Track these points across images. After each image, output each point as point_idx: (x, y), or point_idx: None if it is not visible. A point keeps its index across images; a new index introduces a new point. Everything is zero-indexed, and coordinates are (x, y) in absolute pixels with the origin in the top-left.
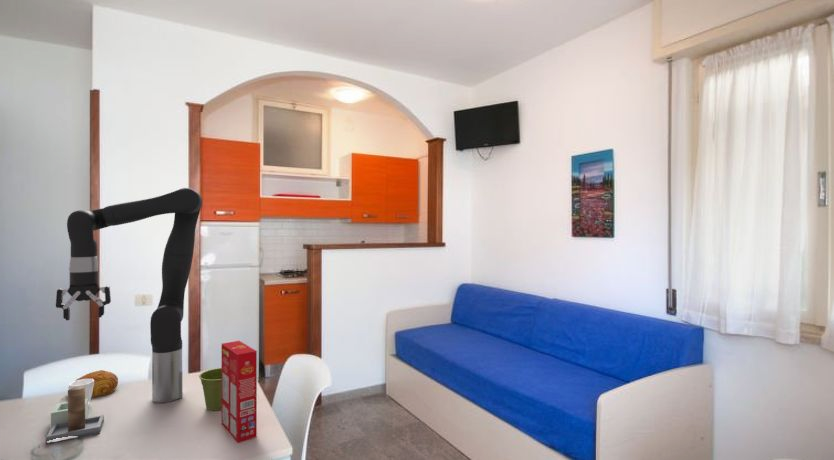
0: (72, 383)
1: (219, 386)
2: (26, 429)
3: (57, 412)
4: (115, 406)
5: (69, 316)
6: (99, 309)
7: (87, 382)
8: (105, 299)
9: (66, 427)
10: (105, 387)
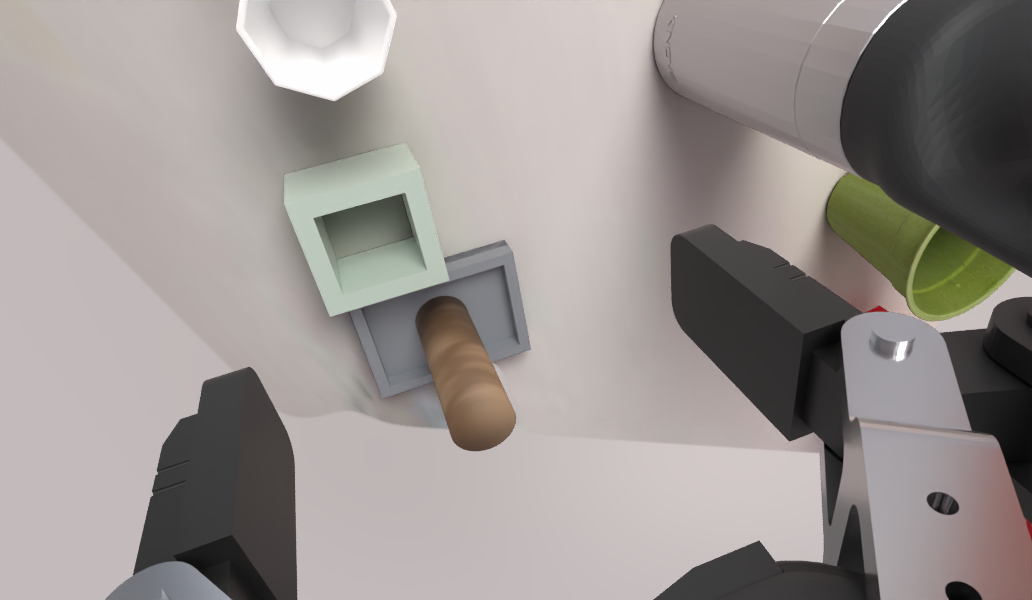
0: (248, 5)
1: (928, 291)
2: (205, 255)
3: (354, 309)
4: (501, 75)
5: (260, 424)
6: (770, 399)
7: None
8: (1029, 520)
9: (394, 298)
10: None
